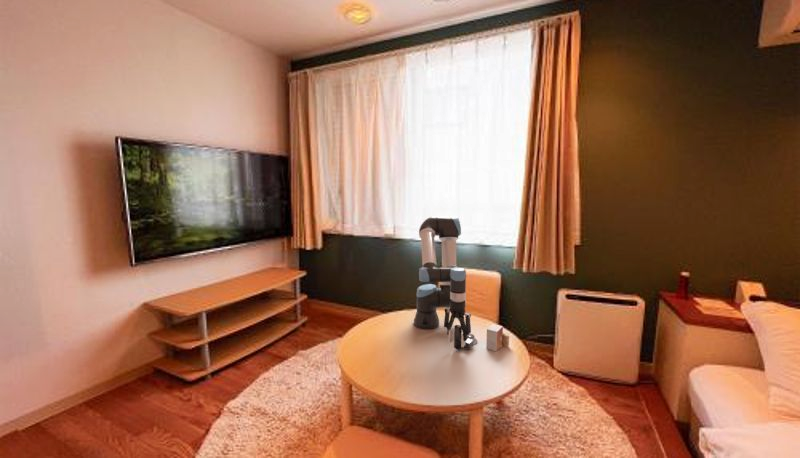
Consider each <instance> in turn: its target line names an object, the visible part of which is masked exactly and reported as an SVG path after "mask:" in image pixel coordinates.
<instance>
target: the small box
mask: <svg viewBox="0 0 800 458" xmlns="http://www.w3.org/2000/svg"><path fill="white" fill-rule="evenodd" d="M503 331H504V326H502V325H498V324H495V323H492V324H491V325H490V326H489V327H488V328H486V344H485V345H486V349H488V350H490V351H493V352H494V351H495V352H498V350H500V348H501V347H502V346H503V345H502V335H503V333H504V332H503Z"/></svg>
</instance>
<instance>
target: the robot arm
mask: <svg viewBox="0 0 800 458" xmlns="http://www.w3.org/2000/svg"><path fill="white" fill-rule="evenodd" d="M418 235H419V238H420V241H421V243H420V244H421V263H422V267H419V269H418V271H419V272H418V275H419V276H418V277H419V278H418V279H419V281H420V282H421V283H427V284H422V285H420V286H418V287H417V289H416V313H415V316H414V318H413V325H414V326H415V327H416V328H418V329H422V330H432V329H437V328H438V327H439V326H440V318H439V315H438V313H437V308H438V309H439V308H440V309H441V308H442V309H443V308H444V321H443V327H444V328H446V330H447V336H448V343H452V342H454V336H453V335H454V330H453V329H454V328H453V326H454V325H453V324H454V322H455V319H457V320H458V322H459V325H460V326H461V328H462V335H461V347H464V346H465V341H466V340H467V335H468V334H472V331H471V330H472V326H471V318H472V314H471V313H467V311H466V293H467V292H466V287H467V284H466V282H467V271H466V268H463V267H459V266H457V240H458V239H459V237H460V236H461V235H462V226H461V221H460V219H459V217H458V216H454V215H453V216H451V215H448V216H447V215H446V216H444V215H443V216H439V215H438V216H430V217H428V218H426V219H425V220H424V221H423V222H422V223H421V225H420V227H419V230H418ZM435 237H438V239H439V240H440V241H441V267H438V266H437V265H438V264H437V256H436V255H437V253H436V245H435V244H436V243H435ZM432 283H433V284H432ZM434 283H439V286H438V287H437V285H436V284H434Z"/></svg>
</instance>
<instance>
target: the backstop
mask: <svg viewBox="0 0 800 458" xmlns="http://www.w3.org/2000/svg"><path fill="white" fill-rule="evenodd" d="M509 345H510V335H509V334H507V333H505V332H503V335H502V346H503V347H505V348H509V347H510V346H509Z"/></svg>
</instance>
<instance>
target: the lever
mask: <svg viewBox="0 0 800 458" xmlns="http://www.w3.org/2000/svg"><path fill="white" fill-rule="evenodd" d="M453 326H454V327H453V329H454V330H453V335H454V336H453V348H454V349H455V350H457V351H462V350H463V349H464V350H467V351H470V350H471V349H472V348H473V347H474V338H475V335H474V334H472V333H470V334H468V335H467V340H466V341H465V346H464V347H461V335H462V334H463V332H462V328H461V325H460V324H455V325H453Z"/></svg>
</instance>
